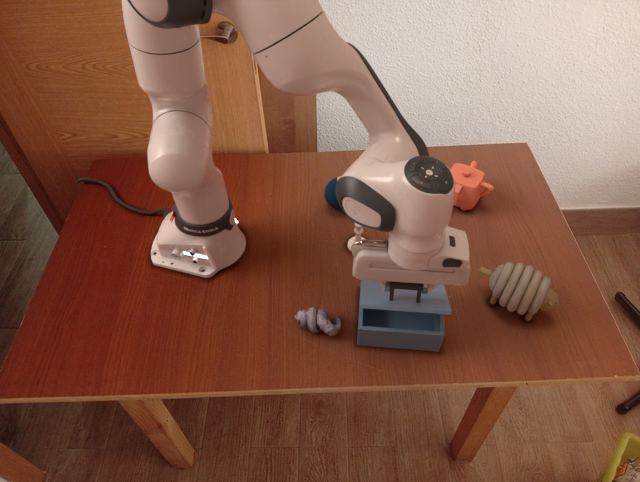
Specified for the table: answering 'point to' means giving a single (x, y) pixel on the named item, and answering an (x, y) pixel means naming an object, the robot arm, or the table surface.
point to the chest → (400, 329)
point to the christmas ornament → (332, 194)
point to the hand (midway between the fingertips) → (405, 289)
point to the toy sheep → (521, 289)
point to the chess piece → (357, 238)
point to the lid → (404, 298)
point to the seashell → (317, 321)
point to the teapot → (469, 185)
